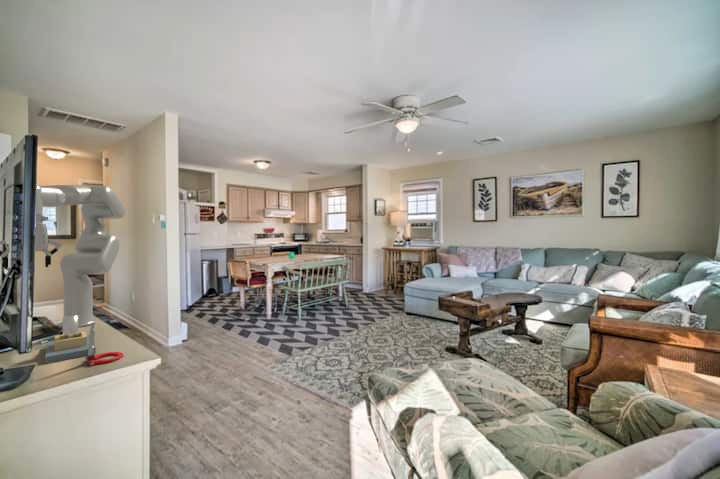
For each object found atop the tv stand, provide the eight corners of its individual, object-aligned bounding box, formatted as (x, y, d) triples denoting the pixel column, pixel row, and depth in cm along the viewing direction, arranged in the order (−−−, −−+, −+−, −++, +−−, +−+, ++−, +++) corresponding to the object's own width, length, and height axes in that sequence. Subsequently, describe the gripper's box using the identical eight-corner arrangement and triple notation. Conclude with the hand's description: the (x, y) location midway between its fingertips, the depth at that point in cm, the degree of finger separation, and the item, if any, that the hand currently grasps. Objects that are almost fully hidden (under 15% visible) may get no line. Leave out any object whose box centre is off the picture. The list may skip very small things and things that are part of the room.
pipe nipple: (62, 344, 108) (62, 316, 108) (78, 341, 111) (78, 314, 110) (62, 347, 105) (62, 318, 105) (78, 344, 108) (78, 316, 107)
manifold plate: (47, 347, 110) (47, 333, 110) (91, 339, 118) (91, 326, 118) (45, 363, 97) (45, 347, 97) (95, 353, 105) (95, 339, 105)
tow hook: (119, 353, 107) (84, 360, 100) (121, 316, 108) (86, 320, 100) (126, 360, 102) (89, 368, 95) (128, 321, 102) (92, 325, 95)
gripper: (61, 220, 118) (61, 265, 118) (-9, 218, 106) (-9, 268, 106) (61, 220, 113) (61, 267, 113) (-13, 218, 101) (-13, 270, 101)
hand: (27, 267), depth 110 cm, fingers open, 9 cm apart
